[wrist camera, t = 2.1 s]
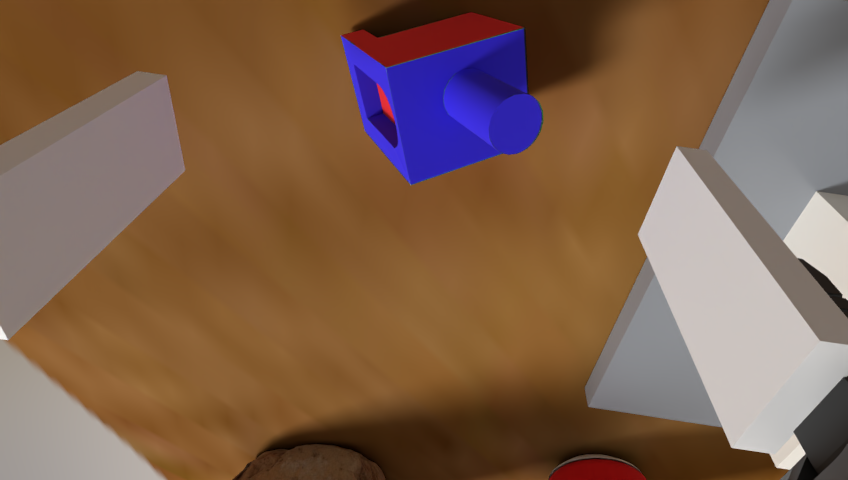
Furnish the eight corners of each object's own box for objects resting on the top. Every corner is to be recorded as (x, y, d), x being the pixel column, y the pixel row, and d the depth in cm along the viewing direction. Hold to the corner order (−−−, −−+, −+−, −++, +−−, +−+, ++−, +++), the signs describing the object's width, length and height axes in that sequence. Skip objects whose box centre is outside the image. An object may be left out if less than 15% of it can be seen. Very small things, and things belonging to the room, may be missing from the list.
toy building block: (462, 100, 20) (584, 177, 14) (364, 131, 19) (445, 228, 13) (450, 5, 18) (586, 45, 12) (339, 35, 17) (422, 95, 11)
